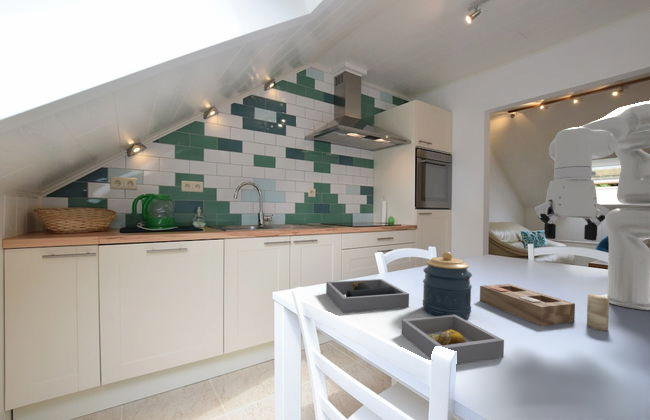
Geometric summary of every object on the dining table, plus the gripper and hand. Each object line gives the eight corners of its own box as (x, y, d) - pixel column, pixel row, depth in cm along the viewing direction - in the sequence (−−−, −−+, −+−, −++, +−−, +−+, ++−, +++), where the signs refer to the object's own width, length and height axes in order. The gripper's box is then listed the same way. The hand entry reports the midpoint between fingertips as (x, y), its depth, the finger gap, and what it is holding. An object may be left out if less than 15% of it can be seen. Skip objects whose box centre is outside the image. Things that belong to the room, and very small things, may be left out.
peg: (593, 323, 76) (594, 294, 75) (612, 330, 72) (613, 298, 72) (582, 325, 74) (583, 295, 74) (601, 331, 71) (602, 299, 71)
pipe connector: (337, 282, 93) (377, 279, 98) (337, 298, 93) (376, 294, 99) (353, 293, 82) (396, 288, 88) (352, 311, 82) (395, 305, 88)
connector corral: (381, 289, 103) (381, 279, 103) (408, 307, 85) (409, 293, 85) (326, 293, 97) (326, 282, 97) (343, 312, 80) (343, 298, 80)
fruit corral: (454, 328, 71) (454, 314, 71) (503, 357, 57) (503, 340, 57) (401, 334, 67) (401, 319, 67) (440, 367, 53) (441, 348, 53)
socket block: (508, 298, 96) (508, 282, 96) (574, 321, 76) (575, 302, 76) (479, 300, 92) (480, 284, 92) (541, 326, 73) (541, 305, 73)
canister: (476, 312, 82) (478, 252, 82) (462, 325, 73) (464, 257, 72) (432, 301, 91) (434, 247, 91) (414, 311, 82) (416, 251, 81)
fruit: (425, 336, 67) (426, 320, 67) (464, 342, 64) (464, 326, 64) (425, 353, 59) (426, 335, 59) (469, 361, 56) (470, 343, 56)
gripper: (596, 177, 78) (594, 239, 78) (528, 176, 80) (526, 236, 80) (621, 174, 70) (619, 242, 70) (545, 173, 73) (543, 239, 73)
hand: (569, 239), depth 75 cm, fingers open, 9 cm apart
